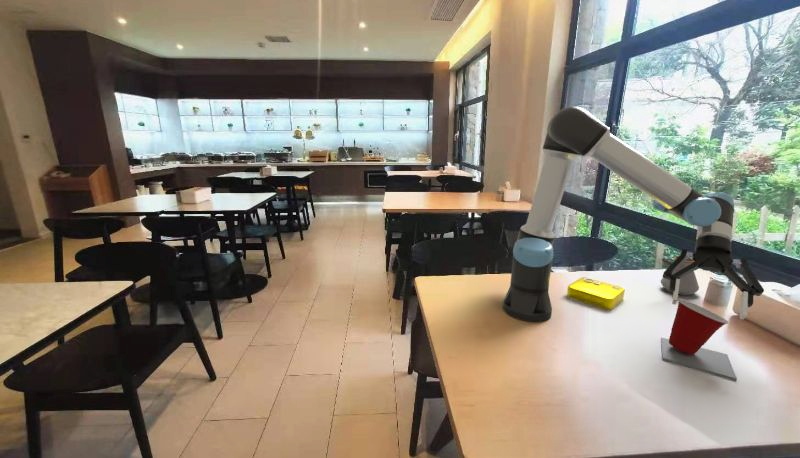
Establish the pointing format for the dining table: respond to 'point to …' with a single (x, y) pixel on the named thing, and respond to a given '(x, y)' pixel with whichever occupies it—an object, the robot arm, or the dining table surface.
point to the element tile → (596, 293)
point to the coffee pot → (683, 279)
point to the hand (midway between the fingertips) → (707, 309)
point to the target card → (699, 360)
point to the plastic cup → (693, 327)
